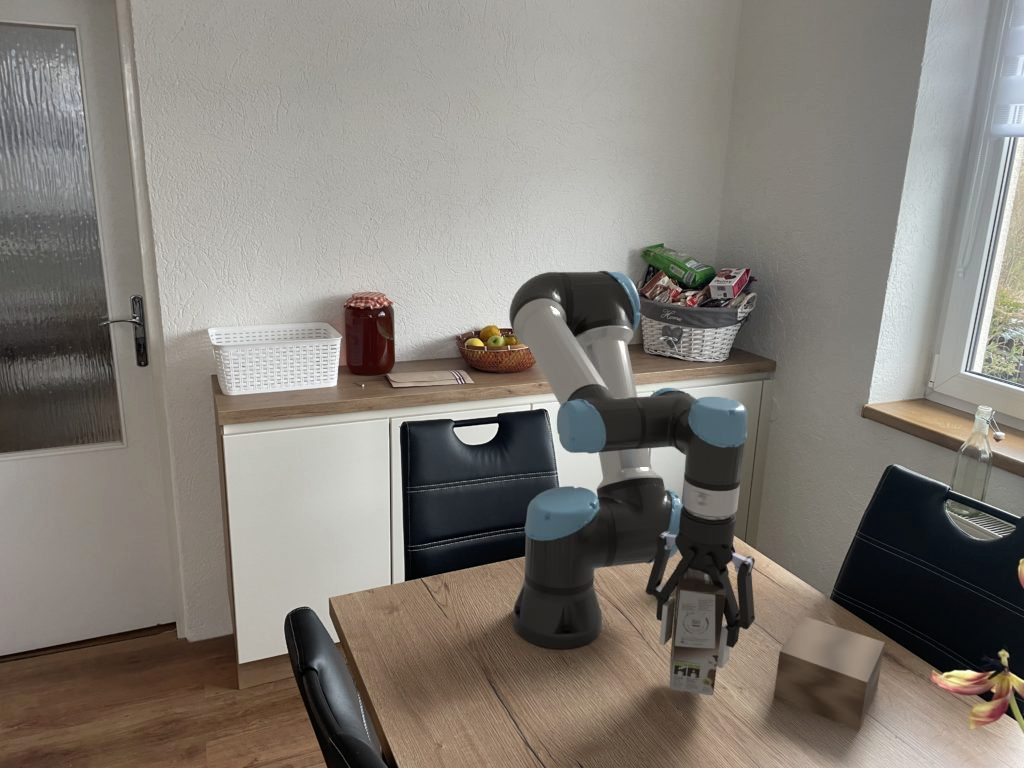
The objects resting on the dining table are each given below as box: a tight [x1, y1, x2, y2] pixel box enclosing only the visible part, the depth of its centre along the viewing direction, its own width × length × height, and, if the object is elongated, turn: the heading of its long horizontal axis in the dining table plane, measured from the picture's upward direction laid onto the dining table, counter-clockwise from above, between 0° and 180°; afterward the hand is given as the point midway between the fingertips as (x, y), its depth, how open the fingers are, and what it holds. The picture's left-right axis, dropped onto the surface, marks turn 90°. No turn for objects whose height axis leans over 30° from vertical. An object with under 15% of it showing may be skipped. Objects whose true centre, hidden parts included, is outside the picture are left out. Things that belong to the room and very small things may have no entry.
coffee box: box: [669, 560, 726, 696], centre depth 114 cm, size 9×6×16 cm
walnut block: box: [773, 615, 886, 731], centre depth 117 cm, size 12×12×8 cm
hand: (693, 651), depth 115 cm, fingers closed on coffee box, 8 cm apart
